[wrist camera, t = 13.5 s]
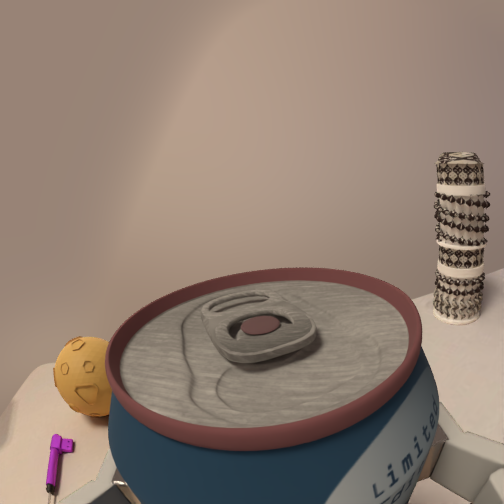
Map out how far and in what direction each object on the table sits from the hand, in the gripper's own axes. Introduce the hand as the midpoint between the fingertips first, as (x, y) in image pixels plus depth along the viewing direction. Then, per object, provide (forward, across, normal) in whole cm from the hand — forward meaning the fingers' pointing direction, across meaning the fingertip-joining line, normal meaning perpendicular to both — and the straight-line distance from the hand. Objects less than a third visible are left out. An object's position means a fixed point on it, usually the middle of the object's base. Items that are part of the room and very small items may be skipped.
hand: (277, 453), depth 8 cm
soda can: (-1, 0, +7) cm, 7 cm away
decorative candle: (+32, -31, +17) cm, 48 cm away
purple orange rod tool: (+8, +22, +17) cm, 29 cm away
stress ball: (+22, +21, +17) cm, 35 cm away
